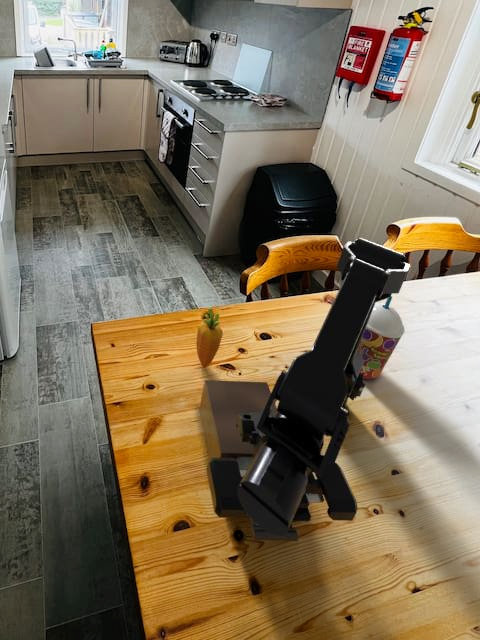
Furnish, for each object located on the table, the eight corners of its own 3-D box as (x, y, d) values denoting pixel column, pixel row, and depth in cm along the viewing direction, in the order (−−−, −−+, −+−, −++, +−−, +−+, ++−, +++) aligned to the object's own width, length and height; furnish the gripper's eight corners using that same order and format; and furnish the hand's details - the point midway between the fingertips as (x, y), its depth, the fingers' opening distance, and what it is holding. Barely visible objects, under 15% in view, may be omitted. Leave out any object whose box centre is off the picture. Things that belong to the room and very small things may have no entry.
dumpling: (241, 447, 68) (251, 433, 67) (268, 475, 65) (279, 461, 64) (221, 473, 63) (232, 458, 62) (249, 505, 60) (261, 490, 59)
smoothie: (365, 390, 81) (397, 316, 74) (331, 358, 88) (357, 287, 80) (392, 377, 85) (425, 305, 77) (357, 347, 92) (384, 278, 84)
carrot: (215, 378, 82) (227, 324, 76) (191, 373, 83) (201, 319, 77) (215, 358, 87) (225, 306, 81) (192, 354, 87) (201, 301, 82)
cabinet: (284, 486, 64) (295, 455, 61) (213, 484, 64) (221, 453, 61) (258, 411, 76) (267, 382, 73) (199, 409, 76) (204, 379, 73)
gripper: (330, 397, 59) (306, 462, 65) (206, 393, 58) (193, 459, 64) (375, 482, 48) (341, 550, 54) (225, 479, 48) (207, 547, 54)
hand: (267, 521), depth 57 cm, fingers closed, pressing on drawer
